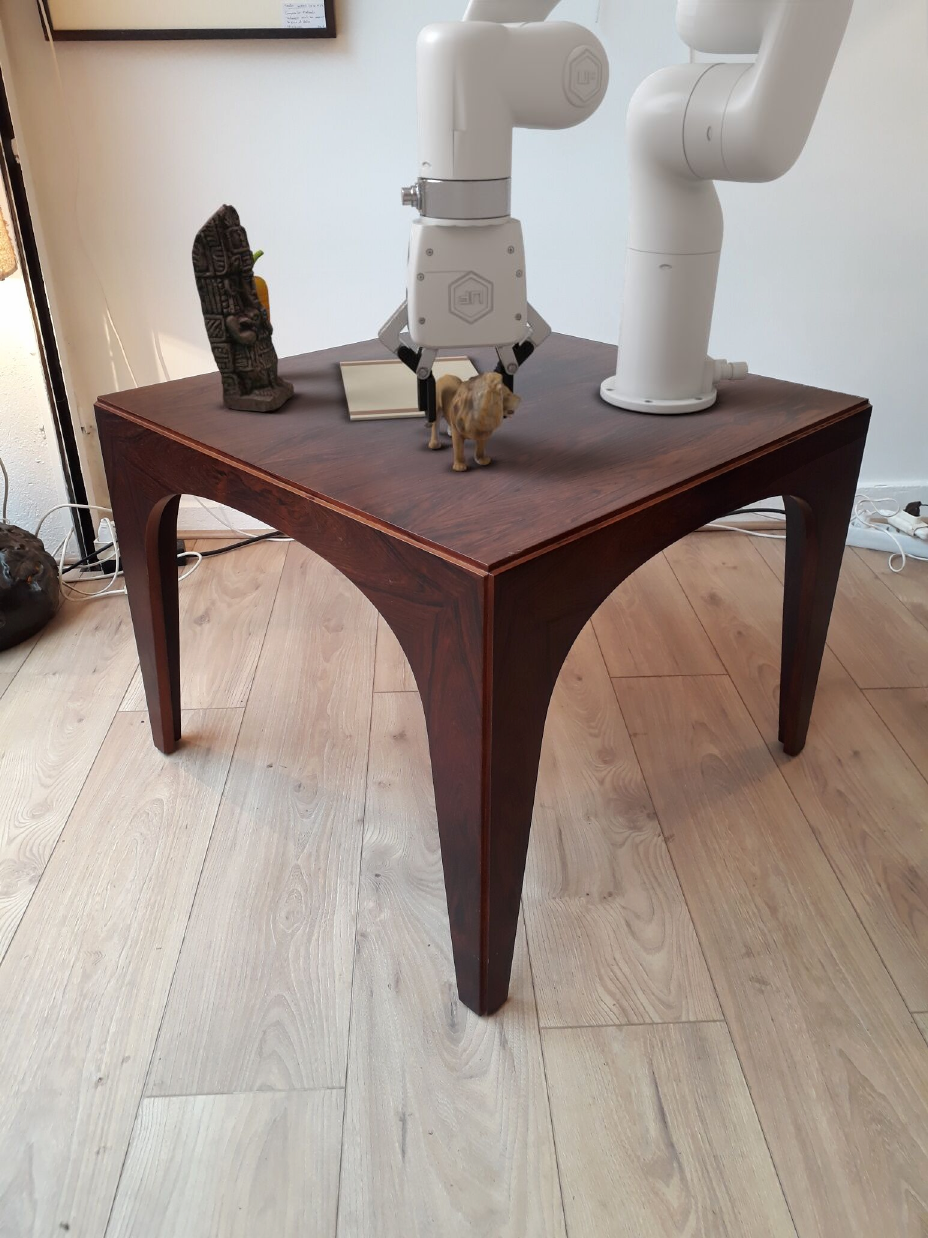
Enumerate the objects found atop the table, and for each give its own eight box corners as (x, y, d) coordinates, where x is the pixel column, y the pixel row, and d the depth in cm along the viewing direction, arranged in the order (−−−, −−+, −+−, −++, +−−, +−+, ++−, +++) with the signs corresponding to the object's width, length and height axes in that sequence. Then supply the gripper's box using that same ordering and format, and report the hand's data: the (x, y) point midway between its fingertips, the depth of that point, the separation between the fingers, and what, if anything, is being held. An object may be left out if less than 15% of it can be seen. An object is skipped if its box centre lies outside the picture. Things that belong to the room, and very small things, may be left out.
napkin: (466, 358, 115) (466, 355, 115) (501, 412, 97) (502, 409, 96) (340, 364, 113) (339, 361, 113) (351, 420, 94) (350, 417, 94)
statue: (273, 414, 96) (250, 207, 86) (211, 410, 97) (180, 206, 87) (296, 395, 102) (277, 199, 92) (237, 391, 103) (211, 198, 93)
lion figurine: (525, 474, 81) (529, 374, 77) (473, 485, 79) (474, 382, 75) (447, 427, 92) (446, 337, 88) (400, 435, 90) (396, 343, 86)
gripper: (363, 209, 70) (375, 435, 79) (579, 204, 72) (566, 424, 82) (356, 198, 76) (368, 408, 86) (555, 194, 79) (546, 399, 88)
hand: (465, 414), depth 83 cm, fingers open, 5 cm apart
